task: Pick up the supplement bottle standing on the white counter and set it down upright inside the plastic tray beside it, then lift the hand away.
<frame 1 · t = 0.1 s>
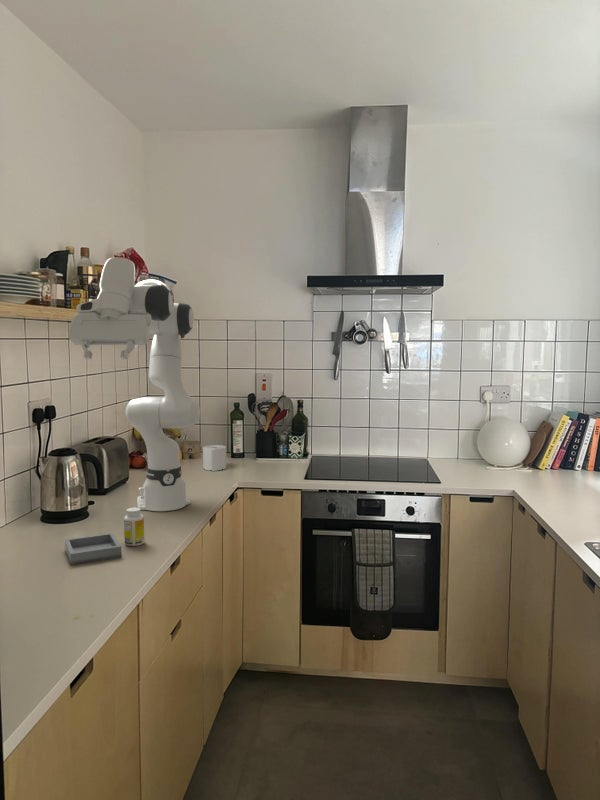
hand: (105, 358, 154), 54 cm above the worktop, tool tilted 30°, fingers open, 8 cm apart
toilet tissue: (215, 469, 278), on the worktop
supplement bottle: (134, 544, 176), on the worktop
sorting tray: (93, 553, 167), on the worktop
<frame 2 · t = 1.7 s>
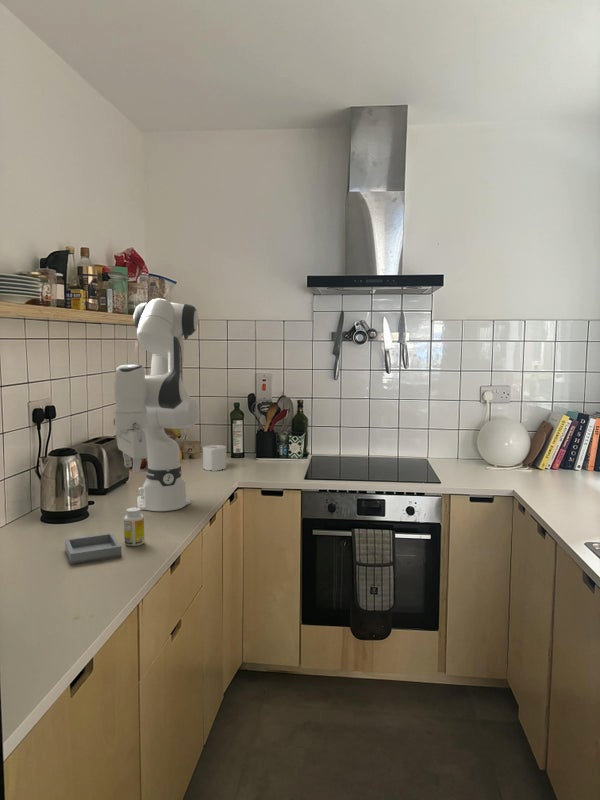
hand: (132, 469, 172), 22 cm above the worktop, tool pointing down, fingers open, 8 cm apart
nothing on the worktop moved.
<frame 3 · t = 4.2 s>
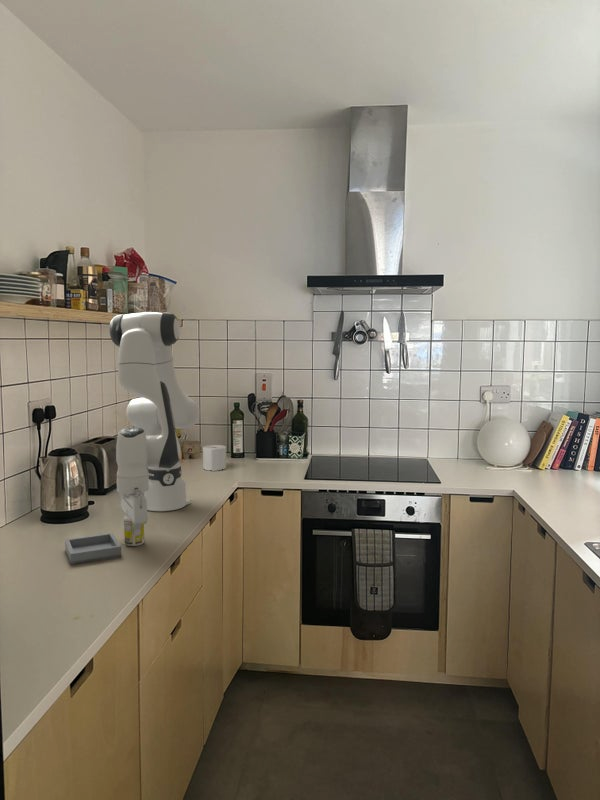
hand: (134, 531, 175), 4 cm above the worktop, tool pointing down, fingers closed on supplement bottle, 6 cm apart
supplement bottle: (134, 544, 176), on the worktop, touching gripper
everything else where it was.
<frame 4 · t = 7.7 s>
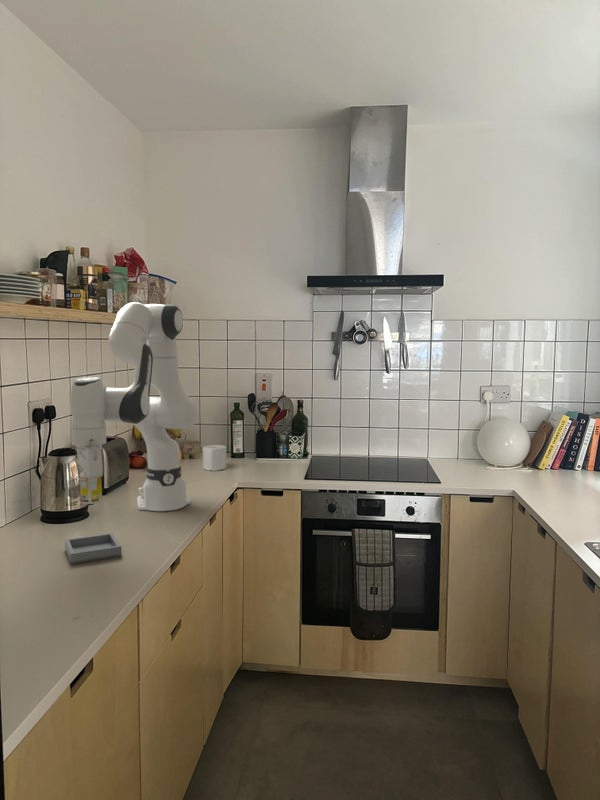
hand: (91, 487, 166), 19 cm above the worktop, tool pointing down, fingers closed on supplement bottle, 5 cm apart
supplement bottle: (91, 502, 166), point 14 cm above the worktop, touching gripper
everything else where it was.
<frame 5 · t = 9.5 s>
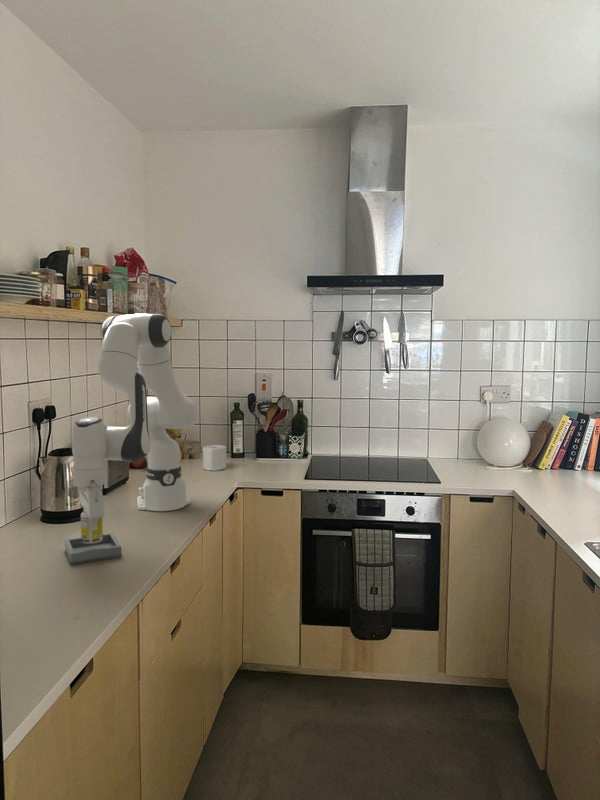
hand: (91, 526, 167), 8 cm above the worktop, tool pointing down, fingers closed on supplement bottle, 5 cm apart
supplement bottle: (92, 542, 167), point 3 cm above the worktop, touching gripper
everything else where it was.
when the fingers open (5 cm above the worktop, at t = 10.9 s): supplement bottle stays where it is, resting on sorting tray.
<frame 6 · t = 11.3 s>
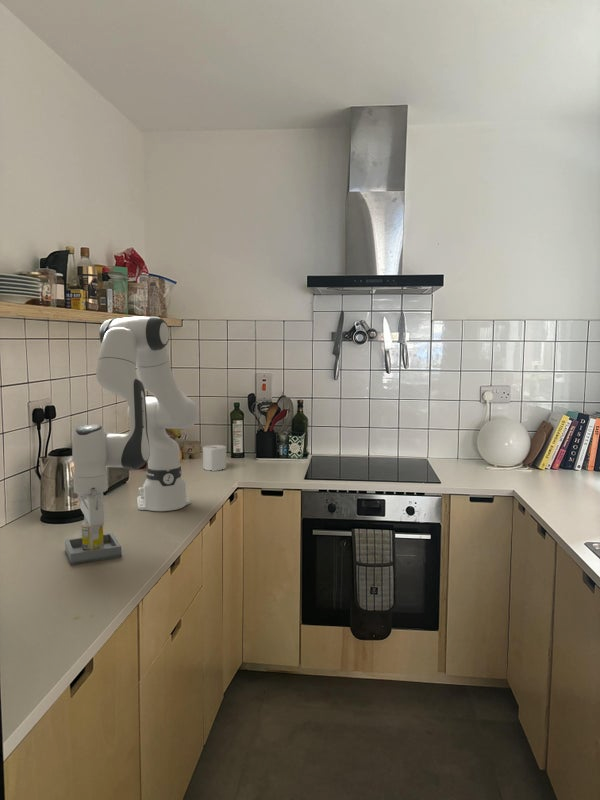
hand: (92, 533, 167), 6 cm above the worktop, tool pointing down, fingers open, 8 cm apart
supplement bottle: (93, 551, 167), point 1 cm above the worktop, touching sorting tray
everything else where it was.
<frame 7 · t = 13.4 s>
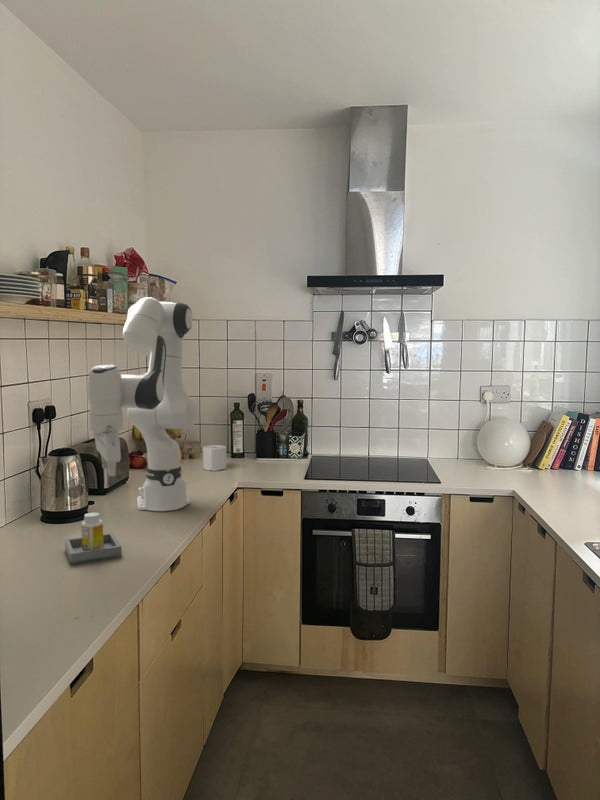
hand: (108, 471, 170), 22 cm above the worktop, tool pointing down, fingers open, 8 cm apart
nothing on the worktop moved.
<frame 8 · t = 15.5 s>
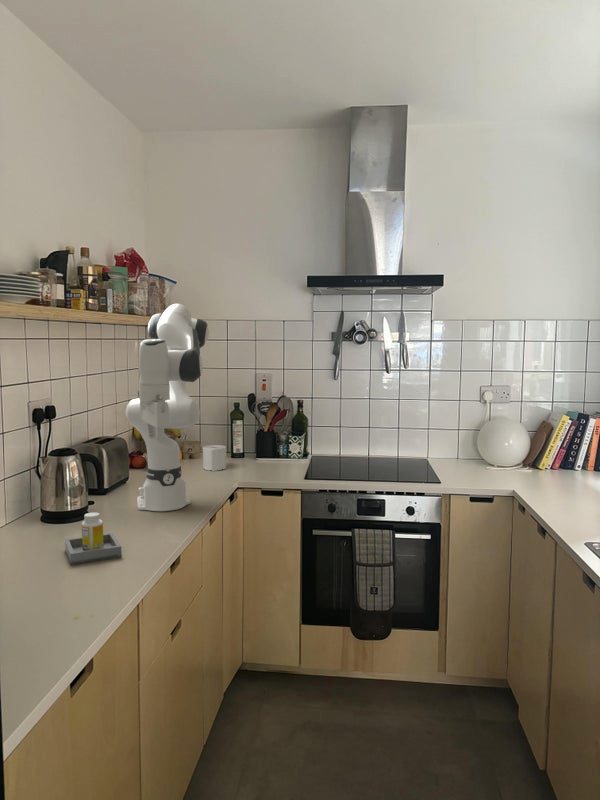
hand: (155, 439, 181), 29 cm above the worktop, tool pointing down, fingers open, 8 cm apart
nothing on the worktop moved.
at the end: supplement bottle inside the target area on the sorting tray (0.1 cm from its centre), point 0.6 cm above the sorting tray's base; supplement bottle tilted 0°; the gripper is holding nothing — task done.
